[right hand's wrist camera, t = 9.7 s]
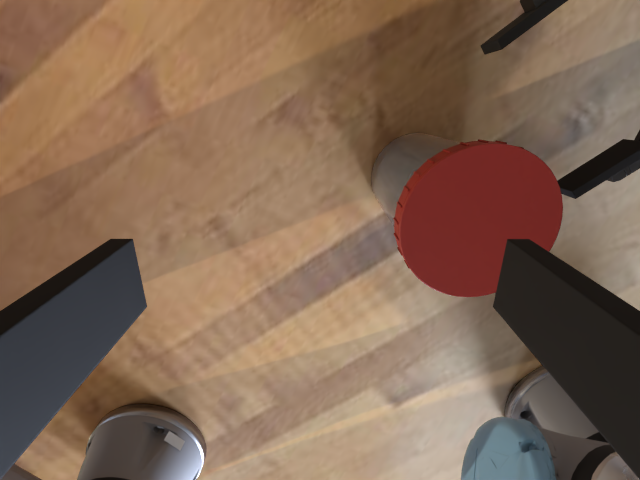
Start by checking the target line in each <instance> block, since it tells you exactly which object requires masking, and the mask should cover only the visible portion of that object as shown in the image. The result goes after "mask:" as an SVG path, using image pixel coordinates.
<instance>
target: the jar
mask: <svg viewBox="0 0 640 480" xmlns="http://www.w3.org/2000/svg"><path fill="white" fill-rule="evenodd" d="M458 144H460V142H457V141H453V140H449V139H445V138H441V137H437V136H433V135H430V134H425V133H411V134H406V135H403V136H401V137H399V138H397V139H395V140H393V141H392V142H390V143H389V144H388V145H387V146H386V147H385V148H384V149H383V150H382V151H381V153H380V154H379V155H378V157H377V159H376V161H375V163H374V166H373V170H372V176H371V184H372V189H373V193H374V195H375V198H376V199H377V201H378V203H379V204H380V206H381V207H382V209H383V210H384V212H385V214H386V215H387V217H388V218H389V220H390V221H391V223H392V225H393V226H394V219H393V218H394V217H395V212H396V207H397V202H398V200H399V198H400V195H401V193H402V191H403V189H404V188H403V187H404V186H406V184H407V182H408V181H409V179H410V178H411V177H412V175H413V174H414V173H413V172H414V171H415V172H416V171H417V170H418V169H419V168H420V167H421V166H422V165H423V164H424V163H425V162H426V161H427V159H430V158H431V157H433V156H435V155H436V154H438V153H439V152H441V151H443V149H447V148H450V147H452V146H455V145H458Z"/></svg>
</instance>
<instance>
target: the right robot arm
mask: <svg viewBox="0 0 640 480" xmlns="http://www.w3.org/2000/svg"><path fill="white" fill-rule="evenodd" d="M146 307H147V304H146V300H145V295H144V290H143V285H142V281H141V276H140V271H139V266H138V262H137V257H136V252H135V247H134V243H133V239H110V240H109V241H107V242H105V243H104V244H102V245H101V246H99V247H98V248H96V249H95V250H93V251H92V252H90V253H89V254H87V255H86V256H84V257H82V258H81V259H79V260H78V261H76V262H75V263H73V264H72V265H70V266H69V267H67V268H66V269H64V270H63V271H61V272H60V273H58V274H56V275H55V276H53V277H52V278H50V279H49V280H47V281H46V282H44V283H43V284H41V285H40V286H38V287H37V288H35V289H33V290H32V291H30V292H29V293H27V294H26V295H24V296H23V297H21V298H20V299H18V300H17V301H15V302H14V303H12V304H10V305H9V306H7V307H6V308H4V309H3V310H1V311H0V480H41V479H39V478H38V477H36V476H34V475H32V474H31V473H29V472H27V471H25V470H24V469H22V468H20V467H19V466H17V465H16V464H14V463H15V462H16V461H17V460H18V458H19V457H20V456H21V455H22V454H23V452H24V451H25V450H26V449H27V448H28V447H29V445H30V444H31V443H32V442H33V441H34V439H35V438H36V437H37V436H38V435H39V434H40V432H41V431H42V430H43V429H44V428H45V426H46V425H47V424H48V423H49V422H50V421H51V419H52V418H53V417H54V416H55V415H56V414H57V412H58V411H59V410H60V409H61V408H62V406H63V405H64V404H65V403H66V402H67V401H68V399H69V398H70V397H71V396H72V395H73V393H74V392H75V391H76V390H77V389H78V388H79V386H80V385H81V384H82V383H83V382H84V380H85V379H86V378H87V377H88V376H89V375H90V373H91V372H92V371H93V370H94V369H95V367H96V366H97V365H98V364H99V363H100V362H101V360H102V359H103V358H104V357H105V356H106V354H107V353H108V352H109V351H110V350H111V349H112V347H113V346H114V345H115V344H116V343H117V341H118V340H119V339H120V338H121V337H122V336H123V334H124V333H125V332H126V331H127V330H128V329H129V327H130V326H131V325H132V324H133V323H134V321H135V320H136V319H137V318H138V317H139V316H140V314H141V313H142V312H143V311H144V310H145V308H146ZM493 307H494V308H495V310H496V311H497V312H498V313H499V314H500V316H501V317H502V318H503V319H504V320H505V321H506V323H507V324H508V325H509V326H510V327H511V329H512V330H513V331H514V332H515V333H516V334H517V336H518V337H519V338H520V339H521V340H522V341H523V343H524V344H525V345H526V346H527V347H528V349H529V350H530V351H531V352H532V353H533V354H534V356H535V357H536V358H537V359H538V360H539V362H540V363H541V364H542V365H543V366H544V367H545V369H546V370H547V371H548V372H549V373H550V375H551V376H552V377H553V378H554V379H555V380H556V382H557V383H558V384H559V385H560V386H561V388H562V389H563V390H564V391H565V392H566V393H567V395H568V396H569V397H570V398H571V399H572V401H573V402H574V403H575V404H576V405H577V406H578V408H579V409H580V410H581V411H582V412H583V414H584V415H585V416H586V417H587V418H588V419H589V421H590V422H591V423H592V424H593V425H594V426H595V428H596V429H597V430H598V431H599V432H600V434H601V435H602V436H603V437H604V438H605V439H606V441H607V442H608V443H609V444H610V445H611V447H612V448H613V449H614V450H615V451H616V452H617V454H618V455H619V456H620V457H621V458H622V460H623V461H624V462H625V463H626V464H627V465H628V467H629V468H630V469H631V470H632V471H633V473H634V474H635V475H636V476H637V477H638V478H639V480H640V311H639V310H637V309H636V308H634V307H633V306H631V305H630V304H628V303H626V302H625V301H623V300H622V299H620V298H619V297H617V296H616V295H614V294H613V293H611V292H610V291H608V290H607V289H605V288H603V287H602V286H600V285H599V284H597V283H596V282H594V281H593V280H591V279H590V278H588V277H587V276H585V275H584V274H582V273H580V272H579V271H577V270H576V269H574V268H573V267H571V266H570V265H568V264H567V263H565V262H564V261H562V260H561V259H559V258H558V257H556V256H554V255H553V254H551V253H550V252H548V251H547V250H545V249H544V248H542V247H541V246H539V245H538V244H536V243H535V242H533V241H531V240H530V239H507V243H506V247H505V252H504V257H503V262H502V266H501V271H500V276H499V281H498V285H497V290H496V295H495V300H494V304H493ZM205 456H206V443H205V440H204V437H203V435H202V433H201V432H200V430H199V429H198V428H197V427H196V426H195V425H194V424H193V423H192V422H191V421H190V420H189V419H187V418H186V417H185V416H183V415H181V414H180V413H178V412H176V411H173V410H171V409H168V408H165V407H161V406H157V405H150V404H134V405H127V406H123V407H120V408H117V409H115V410H113V411H111V412H110V413H108V414H107V415H106V416H105V417H103V419H102V420H101V421H100V422H99V424H98V425H97V427H96V428H95V430H94V431H93V433H92V434H91V436H90V438H89V441H88V444H87V448H86V457H85V460H84V462H83V464H82V467H81V469H80V472H79V476H78V479H77V480H196V479H197V477H198V476H199V474H200V472H201V469H202V466H203V463H204V459H205Z"/></svg>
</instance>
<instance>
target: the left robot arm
mask: <svg viewBox="0 0 640 480" xmlns="http://www.w3.org/2000/svg"><path fill="white" fill-rule="evenodd" d="M566 1H568V0H520V3H521V5H522V7H523V9H524V13H523V14H522V15H520V16H519V17H518V18H516V19H515V20H514V21H512V22H511V23H510V24H508V25H507V26H506V27H504V28H503V29H502V30H501V31H499V32H498V33H497V34H495V35H494V36H493V37H491V38H490V39H489V40H487V41H486V42H485V43H483V44H482V45H481V48H482V50H483V52H484V54H488V53H491V52H495V51H498V50H501V49H503V48H504V47H506V46H507V45H508V44H510V43H511V42H512V41H514V40H515V39H516V38H518V37H519V36H520V35H522V34H523V33H524V32H526V31H527V30H529V29H530V28H531V27H533V26H534V25H535V24H537V23H538V22H539V21H541V20H542V19H543V18H545V17H546V16H547V15H549V14H550V13H551V12H553V11H554V10H555V9H557V8H558V7H559V6H561V5H562V4H564V3H565V2H566ZM639 168H640V130H639V132H638V134H637V136H636V138H635V140H626V139H623V140H621V141H620V142H618V143H616V144H615V145H613V146H612V147H610V148H609V149H607V150H605V151H604V152H602V153H601V154H599V155H598V156H596V157H594V158H593V159H591V160H590V161H588V162H586V163H585V164H583V165H582V166H580V167H579V168H577V169H575V170H574V171H572V172H571V173H569V174H567V175H566V176H564V177H563V178H561V179H560V180H558V181H557V182H558V184H559V187H560V191H561V194H564V195H566V196H569V197H572V198H575V199H576V198H578V197H579V196H581V195H583V194H584V193H586V192H588V191H589V190H591V189H592V188H594V187H596V186H597V185H599V184H601V183H602V182H604V181H605V180H608V181H611V182H615V181H619V180H621V179H623V178H625V177H626V176H628V175H630V174H631V173H633V172H634V171H636V170H638V169H639ZM461 480H639V478H638V477H637V476H636V475H635V474H634V473H633V471H632V470H631V469H630V468H629V467H628V465H627V464H626V463H625V462H624V461H623V460H622V458H621V457H620V456H619V455H618V454H617V452H616V451H615V450H614V449H613V448H612V447H611V445H610V444H609V443H608V442H607V441H606V439H605V438H604V437H603V436H602V435H601V434H600V432H599V431H598V430H597V429H596V428H595V426H594V425H593V424H592V423H591V422H590V421H589V419H588V418H587V417H586V416H585V415H584V414H583V412H582V411H581V410H580V409H579V408H578V406H577V405H576V404H575V403H574V402H573V401H572V399H571V398H570V397H569V396H568V395H567V393H566V392H565V391H564V390H563V389H562V388H561V386H560V385H559V384H558V383H557V382H556V380H555V379H554V378H553V377H552V376H551V375H550V373H549V372H548V371H547V370H546V369H545V367H544V366H542V367H540V368H538V369H536V370H534V371H533V372H531V373H530V374H528V375H527V376H526V377H524V378H523V379H522V380H521V381H520V382H519V383H518V384H517V385H516V386H515V388H514V389H513V390H512V392H511V393H510V395H509V397H508V400H507V402H506V406H505V417H497V418H493V419H491V420H489V421H487V422H485V423H484V424H483V425H482V426H481V427H480V428H479V429H478V430H477V432H476V434H475V436H474V438H473V439H472V440H471V441H470V443H469V445H468V448H467V450H466V454H465V457H464V461H463V466H462V473H461Z"/></svg>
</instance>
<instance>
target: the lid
mask: <svg viewBox="0 0 640 480" xmlns="http://www.w3.org/2000/svg"><path fill="white" fill-rule="evenodd" d="M413 173H414V174H413V175H412V177H411V178H410V179H409V181H408V182H407V184H406V186H404V187H403V188H404V189H403V191H402V193H401V195H400V198H399V200H398V202H397V207H396V212H395V217H394V218H393V219H394V229H395V233H394V236H395V237H396V241H397V245H398V247H397V248H398V250H399V252H400V254H401V255H403V257H404V259H405V260H404V261H405V263H406V264H407V266H408V268H410V269H411V270H412V272H413V273H414V274H415V275H416V276H417V277H418V279H420V280H421V281H422V282H423V283H425V284H426V285H428V286H429V287H431V288H433V289H435V290H437V291H439V292H442V293H445V294H448V295H453V296H459V297H477V296H483V295H488V294H492V293H496V290H497V285H498V281H499V276H500V271H501V266H502V262H503V257H504V252H505V247H506V243H507V239H530V240H531V241H533V242H535V243H536V244H538V245H539V246H541V247H542V248H544V249H545V250H547V251H548V252H549V251H550V249H551V248H552V246H553V244H554V242H555V240H556V238H557V235H558V232H559V229H560V226H561V221H562V213H563V203H562V195H561V191H560V187H559V184H558V182H557V180H556V178H555V176H554V174H553V173H552V171H551V170H550V168H549V167H548V166H547V165H546V164H545V163H544V162H543V161H542V160H541V159H540V158H538V157H537V156H536V155H534V154H532V153H531V152H529V151H527V150H525V149H524V148H522V147H517V146H512V145H508V144H507V143H506V142H501V141H495V142H493V141H485V140H480V139H479V140H478V141H471V142H466V143H463V142H460V144H458V145H455V146H452V147H450V148H447V149H443V151H441V152H439V153H438V154H436V155H435V156H433V157H431V158H430V159H427V161H426V162H425V163H424V164H423V165H422V166H421V167H420V168H419V169H418V170H417V171H416V172H415V171H414V172H413Z"/></svg>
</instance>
